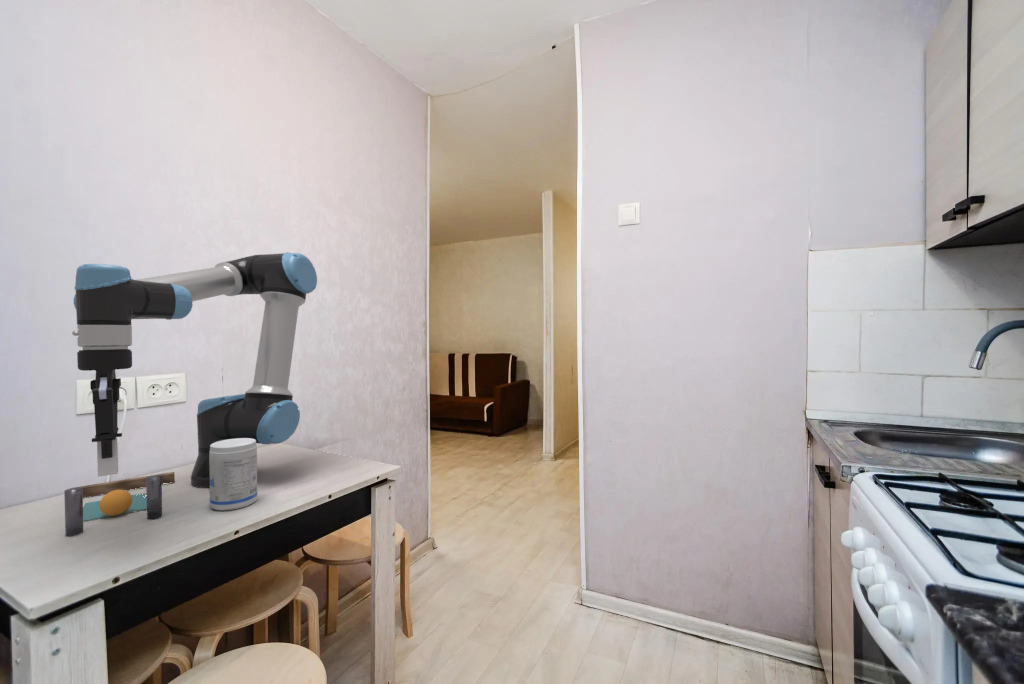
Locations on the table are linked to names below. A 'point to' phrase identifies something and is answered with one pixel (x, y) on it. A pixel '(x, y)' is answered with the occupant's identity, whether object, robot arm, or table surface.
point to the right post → (154, 496)
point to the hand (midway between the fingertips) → (108, 474)
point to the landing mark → (94, 512)
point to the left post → (73, 511)
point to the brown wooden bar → (122, 485)
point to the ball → (115, 502)
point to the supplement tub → (233, 473)
